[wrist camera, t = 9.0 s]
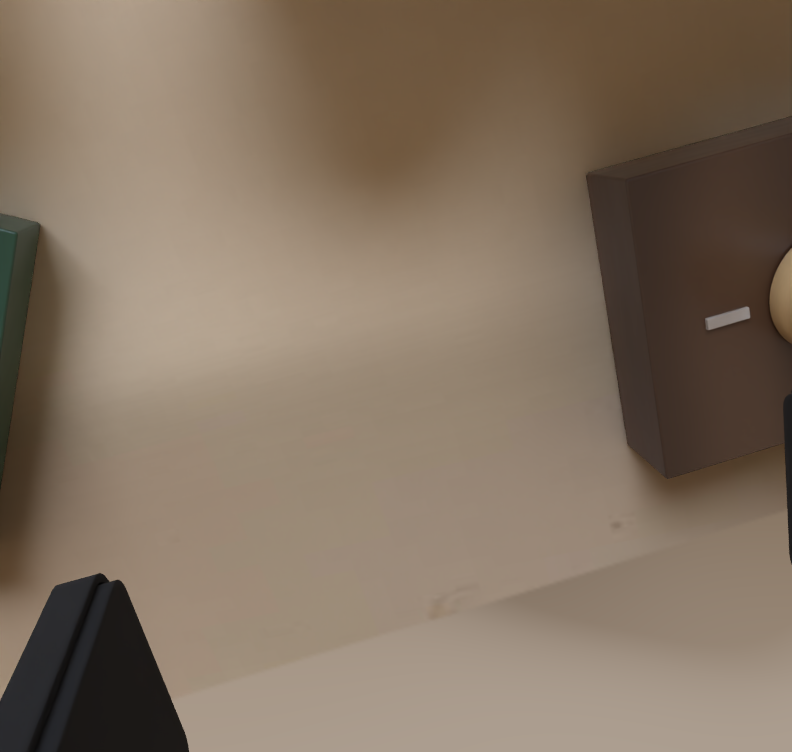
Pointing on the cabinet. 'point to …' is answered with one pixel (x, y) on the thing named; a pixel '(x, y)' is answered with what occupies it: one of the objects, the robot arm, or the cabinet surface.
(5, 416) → the green push button box
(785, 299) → the knob
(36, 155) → the cabinet surface
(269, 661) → the cabinet surface
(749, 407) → the hob panel
